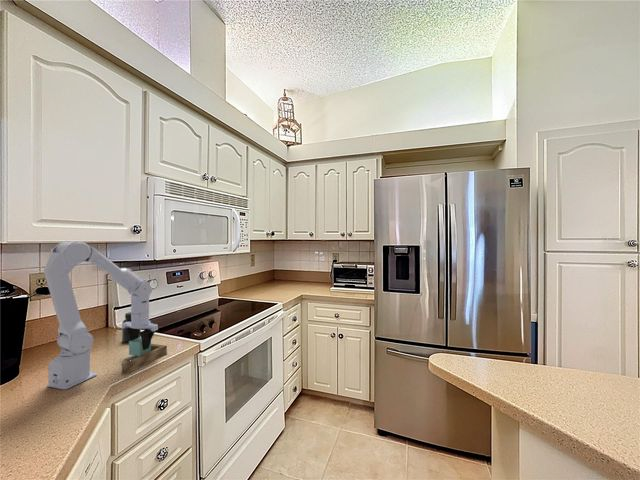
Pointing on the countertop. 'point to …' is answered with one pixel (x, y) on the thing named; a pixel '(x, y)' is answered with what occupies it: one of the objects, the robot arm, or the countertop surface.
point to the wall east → (155, 346)
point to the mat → (132, 357)
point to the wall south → (142, 360)
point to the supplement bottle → (128, 319)
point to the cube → (137, 347)
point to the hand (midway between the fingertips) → (140, 348)
